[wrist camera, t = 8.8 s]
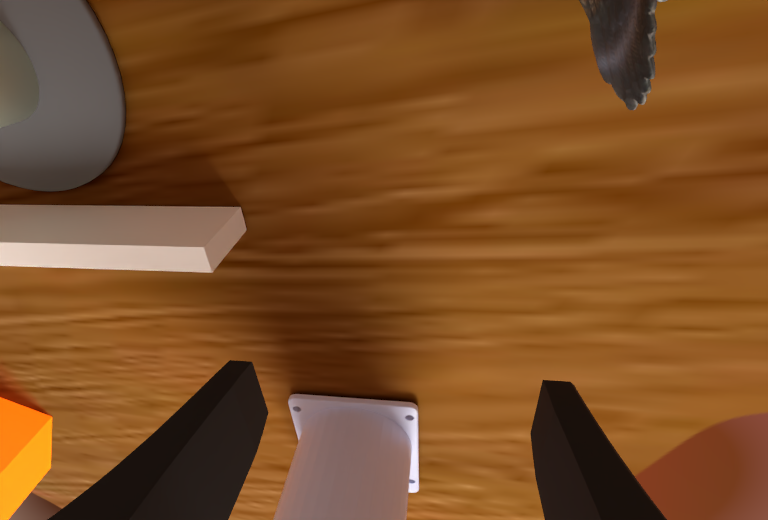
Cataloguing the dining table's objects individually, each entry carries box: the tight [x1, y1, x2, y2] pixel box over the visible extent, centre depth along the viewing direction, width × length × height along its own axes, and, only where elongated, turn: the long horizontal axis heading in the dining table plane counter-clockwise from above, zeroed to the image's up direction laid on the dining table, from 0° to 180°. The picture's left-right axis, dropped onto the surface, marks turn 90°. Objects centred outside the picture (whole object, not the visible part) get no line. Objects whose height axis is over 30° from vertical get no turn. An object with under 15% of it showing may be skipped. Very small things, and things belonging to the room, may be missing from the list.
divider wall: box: [0, 205, 247, 273], centre depth 19 cm, size 1×18×4 cm, turn 93°
